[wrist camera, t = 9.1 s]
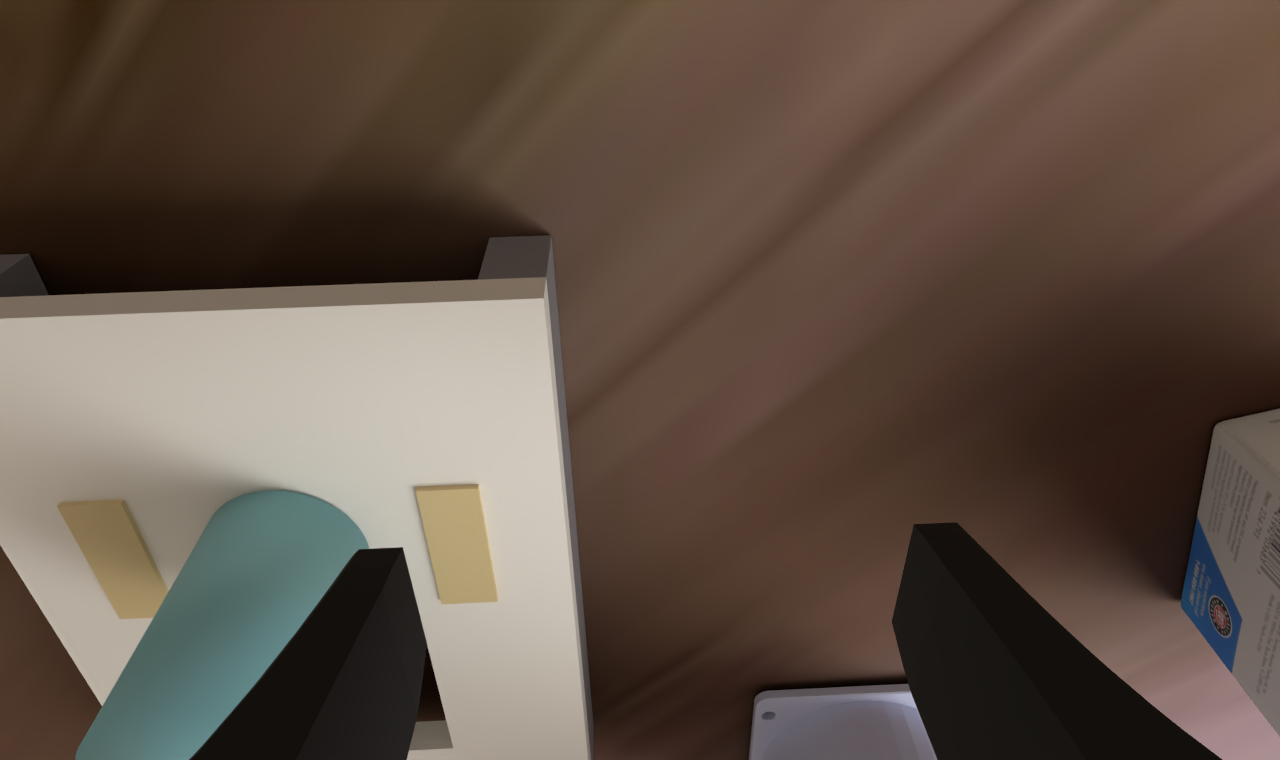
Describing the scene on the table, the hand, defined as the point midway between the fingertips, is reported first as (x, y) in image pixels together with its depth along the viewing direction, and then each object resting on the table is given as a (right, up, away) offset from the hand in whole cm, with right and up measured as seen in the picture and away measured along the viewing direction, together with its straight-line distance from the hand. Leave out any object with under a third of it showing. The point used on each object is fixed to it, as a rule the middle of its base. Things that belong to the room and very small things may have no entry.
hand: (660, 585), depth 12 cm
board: (-9, -2, +13) cm, 16 cm away
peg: (-9, +1, +12) cm, 15 cm away
